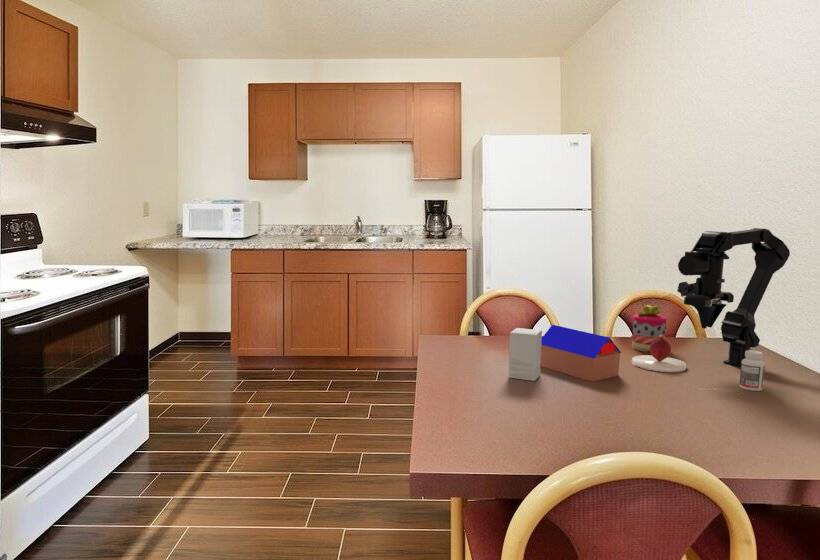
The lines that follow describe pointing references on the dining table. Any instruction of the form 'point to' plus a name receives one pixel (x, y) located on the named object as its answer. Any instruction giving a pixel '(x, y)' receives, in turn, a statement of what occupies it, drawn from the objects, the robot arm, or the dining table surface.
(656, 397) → the dining table surface
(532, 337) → the supplement box
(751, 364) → the pill bottle
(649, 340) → the cake
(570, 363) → the house
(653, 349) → the onion
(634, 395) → the dining table surface
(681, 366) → the plate
